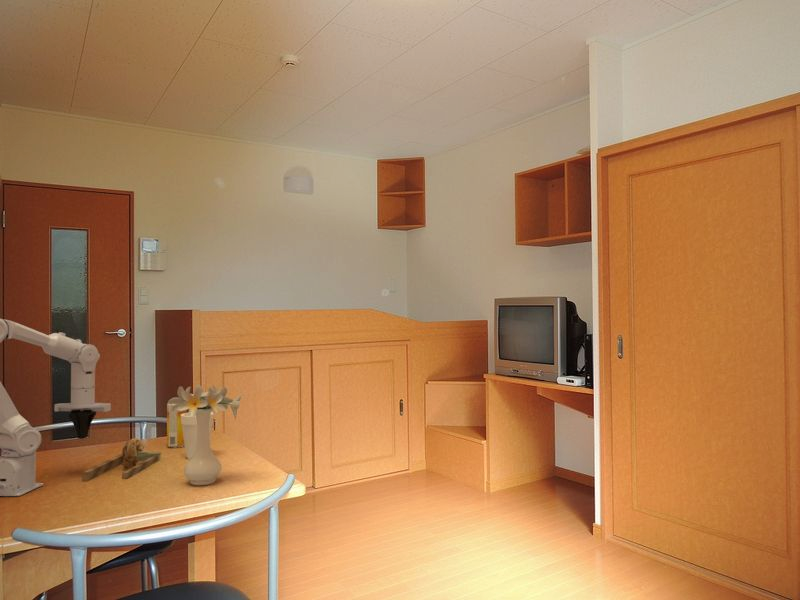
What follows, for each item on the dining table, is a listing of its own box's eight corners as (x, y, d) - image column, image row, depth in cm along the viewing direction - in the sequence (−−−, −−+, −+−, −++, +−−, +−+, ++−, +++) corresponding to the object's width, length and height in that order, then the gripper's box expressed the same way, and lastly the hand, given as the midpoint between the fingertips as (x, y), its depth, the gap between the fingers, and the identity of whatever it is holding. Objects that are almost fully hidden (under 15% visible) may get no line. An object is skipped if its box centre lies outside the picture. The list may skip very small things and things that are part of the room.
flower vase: (246, 483, 151) (246, 385, 151) (169, 493, 143) (169, 390, 143) (237, 471, 162) (237, 380, 163) (165, 479, 154) (166, 384, 155)
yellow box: (189, 444, 196) (189, 399, 197) (183, 448, 190) (183, 401, 191) (170, 444, 196) (171, 399, 196) (164, 448, 190) (164, 402, 190)
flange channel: (123, 481, 153) (123, 471, 153) (82, 480, 153) (82, 471, 153) (160, 459, 176) (160, 451, 176) (125, 459, 176) (125, 451, 176)
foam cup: (197, 452, 185) (197, 410, 185) (219, 455, 181) (219, 412, 181) (173, 458, 177) (174, 415, 177) (196, 462, 173) (196, 417, 173)
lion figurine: (145, 471, 163) (145, 438, 163) (124, 473, 160) (124, 440, 160) (136, 460, 175) (136, 429, 176) (116, 462, 173) (117, 431, 173)
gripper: (116, 385, 164) (116, 434, 164) (65, 385, 164) (65, 434, 164) (103, 389, 157) (102, 440, 156) (49, 389, 157) (49, 440, 157)
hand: (82, 437), depth 160 cm, fingers closed
